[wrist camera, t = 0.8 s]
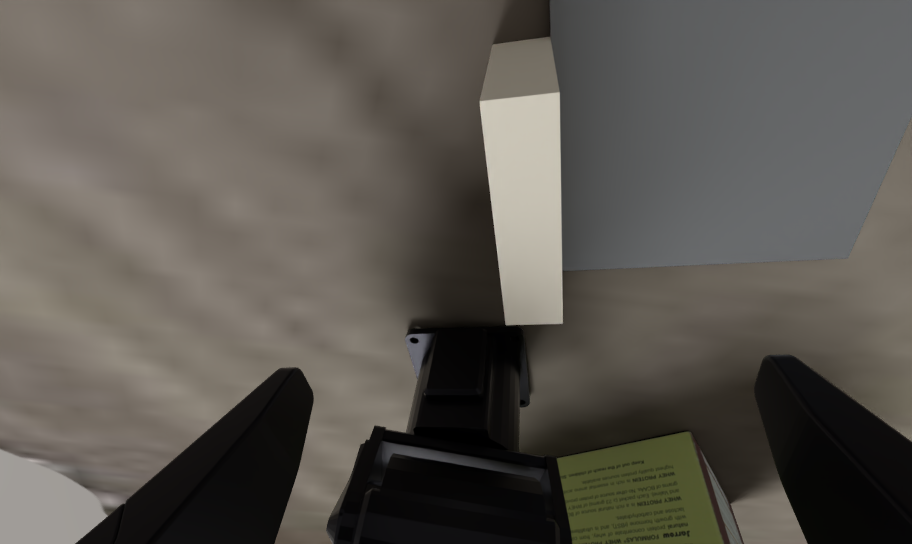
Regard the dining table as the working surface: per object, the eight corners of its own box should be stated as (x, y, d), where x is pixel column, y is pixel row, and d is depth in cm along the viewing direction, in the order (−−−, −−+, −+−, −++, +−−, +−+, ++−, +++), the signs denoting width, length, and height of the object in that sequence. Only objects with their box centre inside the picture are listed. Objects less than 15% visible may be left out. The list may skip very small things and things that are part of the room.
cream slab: (554, 229, 21) (562, 323, 16) (508, 232, 21) (502, 325, 17) (550, 36, 16) (559, 92, 11) (489, 44, 16) (475, 101, 12)
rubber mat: (842, 252, 20) (847, 258, 20) (556, 266, 22) (556, 271, 22) (1172, -500, 9) (1195, -514, 9) (541, -325, 11) (541, -331, 11)
